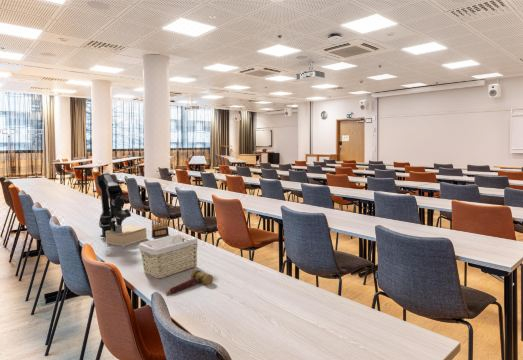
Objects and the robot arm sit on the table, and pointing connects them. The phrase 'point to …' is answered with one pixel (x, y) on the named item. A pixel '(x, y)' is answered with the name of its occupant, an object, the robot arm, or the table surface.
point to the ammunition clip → (159, 228)
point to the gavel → (192, 281)
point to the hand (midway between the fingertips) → (116, 230)
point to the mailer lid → (124, 229)
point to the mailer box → (126, 238)
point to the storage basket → (169, 255)
